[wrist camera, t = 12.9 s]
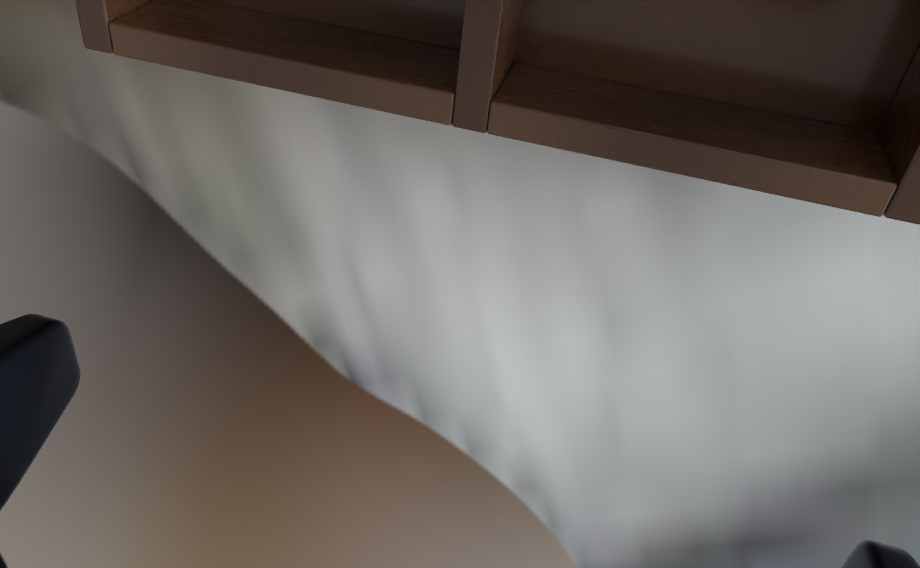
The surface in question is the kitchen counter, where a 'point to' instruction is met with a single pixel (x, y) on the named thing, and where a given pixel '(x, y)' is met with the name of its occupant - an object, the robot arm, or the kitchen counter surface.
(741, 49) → the holder
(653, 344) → the kitchen counter surface
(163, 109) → the kitchen counter surface
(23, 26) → the kitchen counter surface
